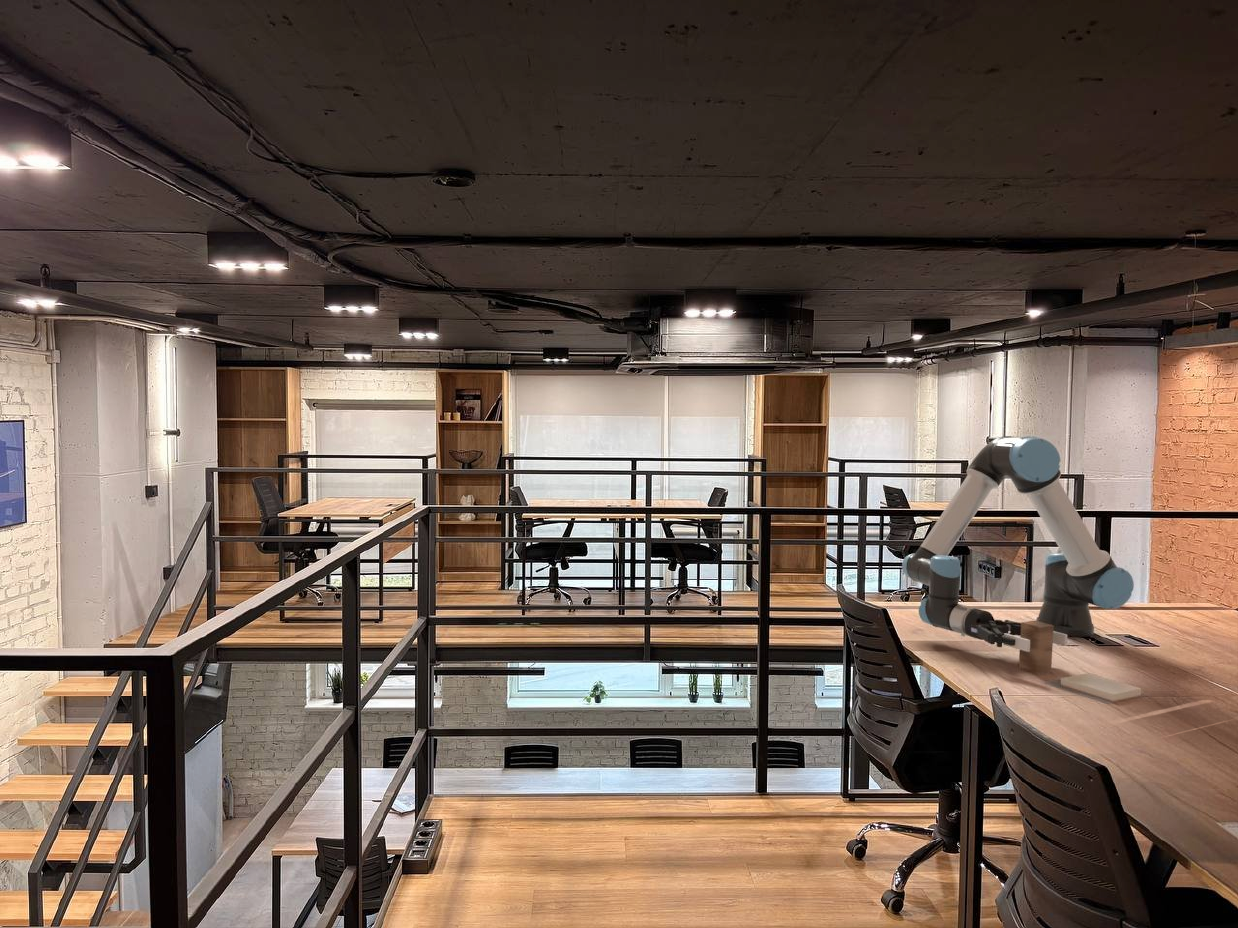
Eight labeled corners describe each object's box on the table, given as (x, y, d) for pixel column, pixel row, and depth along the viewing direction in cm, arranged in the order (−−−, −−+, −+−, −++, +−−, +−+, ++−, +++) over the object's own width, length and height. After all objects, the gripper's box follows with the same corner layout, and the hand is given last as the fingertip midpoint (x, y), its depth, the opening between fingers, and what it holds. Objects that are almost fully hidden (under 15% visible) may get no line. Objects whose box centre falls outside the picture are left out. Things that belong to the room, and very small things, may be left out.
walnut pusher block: (1018, 670, 200) (1021, 622, 199) (1032, 668, 202) (1034, 620, 201) (1037, 676, 195) (1040, 627, 195) (1050, 674, 198) (1053, 625, 197)
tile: (1061, 677, 187) (1113, 694, 176) (1088, 672, 192) (1141, 688, 181) (1060, 685, 187) (1112, 702, 177) (1088, 680, 192) (1140, 696, 181)
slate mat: (1043, 685, 189) (1043, 682, 189) (1082, 678, 195) (1082, 675, 195) (1107, 706, 175) (1108, 703, 175) (1147, 697, 182) (1147, 695, 182)
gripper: (1004, 632, 220) (1079, 653, 202) (938, 641, 209) (1012, 664, 190) (1005, 604, 220) (1081, 622, 201) (939, 612, 208) (1013, 632, 190)
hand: (1048, 643), depth 196 cm, fingers open, 13 cm apart
